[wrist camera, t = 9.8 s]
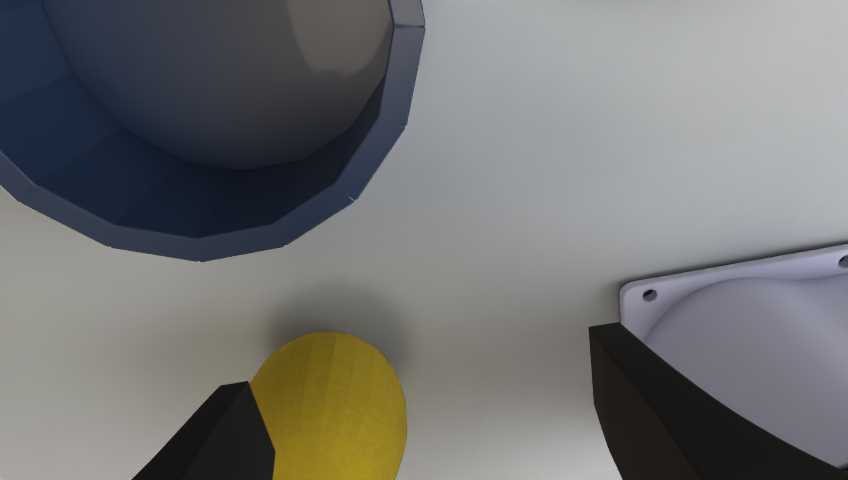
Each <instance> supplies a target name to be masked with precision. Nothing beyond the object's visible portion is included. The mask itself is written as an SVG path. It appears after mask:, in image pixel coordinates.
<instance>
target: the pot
mask: <svg viewBox="0 0 848 480" xmlns="http://www.w3.org/2000/svg"><path fill="white" fill-rule="evenodd" d="M424 34H425V19H424V14H423V8H422V3H421V0H0V185H2V186H3V187H4V188H5V189H6V190H7V191H8V192H9V193H10V194H11V195H12V196H13V197H14V198H15V199H16V200H17V201H19V202H21V203H22V204H24V205H26V206H28V207H30V208H32V209H34V210H36V211H38V212H40V213H42V214H44V215H46V216H48V217H50V218H52V219H54V220H56V221H58V222H60V223H62V224H64V225H66V226H68V227H70V228H72V229H74V230H75V231H77V232H79V233H81V234H83V235H85V236H87V237H89V238H91V239H93V240H95V241H97V242H99V243H101V244H103V245H105V246H108V247H109V246H110V247H112V248H116V249H122V250H128V251H135V252H141V253H147V254H153V255H159V256H165V257H171V258H178V259H184V260H190V261H196V262H197V261H200V262H205V261H210V260H216V259H221V258H226V257H232V256H237V255H243V254H248V253H253V252H259V251H264V250H269V249H275V248H280V247H283V246H284V245H288V244H289V243H291V242H292V241H294V240H295V239H297V238H299V237H300V236H302V235H303V234H305V233H306V232H308V231H310V230H311V229H313V228H314V227H316V226H317V225H319V224H320V223H322V222H324V221H325V220H327V219H328V218H330V217H331V216H333V215H335V214H336V213H338V212H339V211H341V210H342V209H344V208H345V207H347V206H349V205H350V204H352V203H353V202H354V201H355V200H356V199H358V198H359V196H360V195H361V193H362V192H363V190H364V189H365V187H366V186H367V184H368V183H369V181H370V180H371V178H372V177H373V175H374V174H375V172H376V171H377V169H378V168H379V166H380V165H381V163H382V162H383V160H384V159H385V157H386V156H387V154H388V153H389V152H390V150H391V149H392V147H393V146H394V144H395V143H396V141H397V140H398V138H399V137H400V135H401V134H402V132H403V131H404V129H405V126H406V125H407V121H408V116H409V111H410V106H411V101H412V96H413V90H414V85H415V80H416V75H417V70H418V65H419V60H420V55H421V49H422V44H423V39H424Z"/></svg>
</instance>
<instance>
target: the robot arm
mask: <svg viewBox="0 0 848 480" xmlns="http://www.w3.org/2000/svg"><path fill="white" fill-rule="evenodd" d="M843 256H846V257H845V259H844V260H843V261H841V262H839V260H840V259H841V258H842V257H843ZM838 262H839V263H838ZM649 289H650V290H653V291H652V293H651V294H650V295H648V296H643V293H644V292H645V291H647V290H649ZM619 297H620V314H621V324H620V323H619V322H616V323H610V324H604V325H598V326H591V327H589V339H590V354H591V369H592V383H593V398H594V405H595V409H596V412H597V415H598V418H599V421H600V424H601V428H602V431H603V434H604V437H605V440H606V443H607V446H608V448H609V451H610V453H611V455H612V457H613V460H614V462H615V464H616V466H617V468H618V471H619V473H620V475H621V477H622V479H623V480H848V244H845V245H839V246H833V247H828V248H822V249H816V250H810V251H805V252H799V253H793V254H788V255H782V256H776V257H770V258H765V259H759V260H753V261H748V262H742V263H736V264H730V265H725V266H719V267H713V268H708V269H702V270H696V271H690V272H685V273H679V274H673V275H668V276H662V277H656V278H651V279H645V280H639V281H633V282H630V283H627V284H626V285H625V286H623V287H622V289H621V290H620V295H619ZM275 454H276V451H275V449H274V446H273V443H272V441H271V438H270V436H269V433H268V431H267V428H266V426H265V423H264V420H263V418H262V415H261V413H260V410H259V408H258V405H257V403H256V400H255V397H254V395H253V392H252V390H251V387H250V385H249V382H248V381H246V382H239V383H233V384H227V385H221V386H220V387H219V388H218V389H216V390H215V391H214V392H213V394H212V395H211V396H210V397H209V398H208V399H207V400H206V401H205V402H204V403H203V404H202V405H201V406H200V407H199V409H198V410H197V411H196V412H195V413H194V414H193V415H192V416H191V417H190V418H189V420H188V421H187V422H186V423H185V424H184V425H183V426H182V427H181V428H180V429H179V431H178V432H177V433H176V434H175V435H174V436H173V437H172V438H171V439H170V440H169V441H168V442H167V444H166V445H165V446H164V447H163V448H162V449H161V450H160V451H159V452H158V453H157V454H156V455H155V456H154V458H153V459H152V460H151V461H150V462H149V463H148V464H147V465H146V466H145V467H144V468H143V469H142V470H141V471H140V472H139V473H138V474H137V475H136V476H135V477H134V478H133V479H132V480H273V472H274V463H275Z"/></svg>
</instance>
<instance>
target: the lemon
mask: <svg viewBox="0 0 848 480" xmlns="http://www.w3.org/2000/svg"><path fill="white" fill-rule="evenodd" d="M249 385H250V387H251V390H252V392H253V395H254V397H255V400H256V403H257V405H258V408H259V410H260V413H261V415H262V418H263V420H264V423H265V426H266V428H267V431H268V433H269V436H270V438H271V441H272V443H273V446H274V449H275V451H276V454H275V463H274V472H273V480H395V479H396V476H397V473H398V470H399V467H400V463H401V460H402V457H403V453H404V449H405V444H406V438H407V415H406V402H405V397H404V393H403V390H402V388H401V385H400V382H399V380H398V377H397V375H396V372H395V370H394V369H393V367H392V366H391V365H390V363H389V362H388V361H387V359H386V358H385V357H384V355H383V354H382V353H381V352H379V351H378V350H377V349H376V348H374V347H373V346H372V345H371V344H369V343H368V342H366V341H364V340H362V339H360V338H358V337H356V336H353V335H349V334H345V333H341V332H324V331H321V332H316V333H311V334H306V335H304V336H301V337H299V338H297V339H294V340H292V341H290V342H288V343H286V344H285V345H284V346H282V347H281V348H280V349H278V350H277V351H276V352H275V353H273V354H272V355H271V356H269V358H268V359H267V360H266V361H265V362H264V364H263V365H262V366H261V368H260V369H259V371H258V372H257V373H256V375H255V376H254V378H253V379H252V381H251V382H250V384H249Z"/></svg>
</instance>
